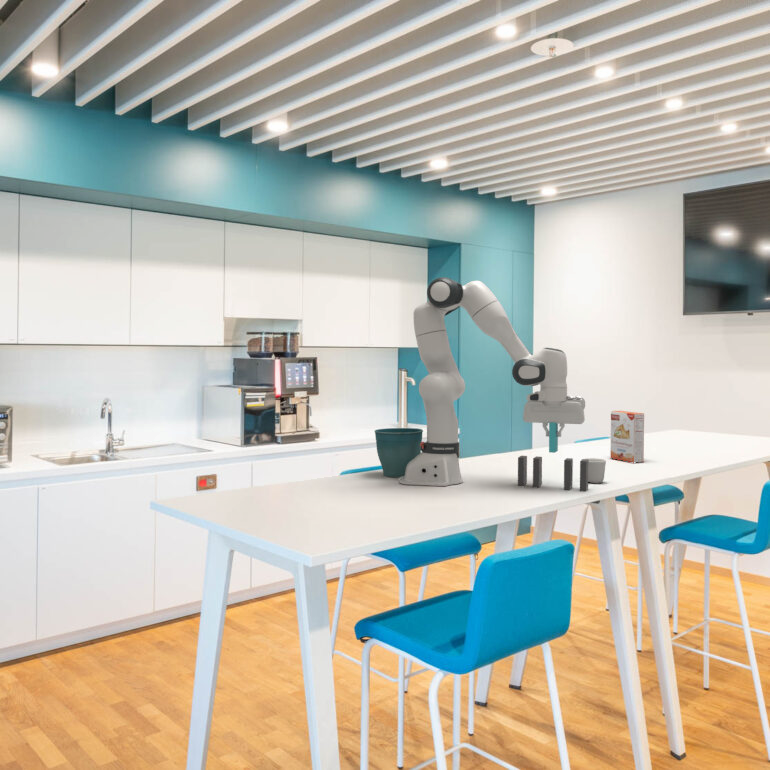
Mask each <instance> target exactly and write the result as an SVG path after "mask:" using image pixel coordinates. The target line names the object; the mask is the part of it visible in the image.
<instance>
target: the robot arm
mask: <svg viewBox="0 0 770 770" xmlns="http://www.w3.org/2000/svg"><path fill="white" fill-rule="evenodd" d="M426 289H427V290H426V296H427V299H428V301H426V302H425V303H421V304H419V305H418V306H417V307H415V308H414V309H413V310H414V311H413V327H414V334H415V335H414V336H415V340H416V344H417V348H418V353H419V357H420V360H421V361H422V363H423V364H424V367H425V368H426V370H427V373H428V374H427V375H426V376H424V377H423V378H422V379H421V380H420V382H419V385H418V392H419V395H420V397H421V398H422V402H423V406H424V411H425V412H424V413H425V417H426V441H422V442H421V443H420V446H421V453H420V454H419V455H417V456H416V457H415V458H414V459H412V460H411V461H410V462H409V463H408V464H407V466H406V470H405V476H401V477H398V482H399V484H402V485H413V486H430V487H431V486H432V487H436V486H437V487H446V486H447V487H448V486H452V485H457V484H462V483H463V478H462V474H461V467H460V459H459V458H460V454H461V453H460V452H461V451H460V449H461V446H460V442H459V419H458V416H457V414H456V410H455V405H454V402H455V401H457V400H458V399H460V398H461V397H462V395H463V394H464V393H465V390H466V382H465V380H464V378H463V377H462V376H461V373H460V370H459V368H458V366H457V363H456V361H455V358H454V356H453V354H452V350H451V346H450V342H449V338H448V332H447V328H446V323H445V316H448V315H449V314H450V313H451V314H452V313H453V312H454V311H456V310H458V309H460V307H461V308H463V309H464V310H465V311H466V312H467V314H468V315H469V317H470V319H471V320H472V321H473V323H474V325H476V326H477V327H478V329H479V330H480V331H481V332H482V333H484V334H485V335H487V336H489V337H490V338H492V339H494V340H496V341H497V342H498V343H499V344H500V345H501V346H502V347H503V349H505V351H506V352H507V355H509V357H510V358H511V359H512V360H513V362H514V364H513V366H512V370H511V371H512V373H511V374H512V377H513V379H514V381H515V382H516V383H518V384H519V385H521V386H525V387H536V386H538V385H540V386H539V387H540V388H539V389H540V390H539V391H535V392H532V393H529V394H527V395H526V401H527V402H526V403H525V404H524V406H523V412H522V413H523V415H522V420H523V421H524V422H525V423H531V424H532V423H533V424H534V423H535V424H542V428H543V430H544V431H545V437H548V438H549V428H548V427H549V423H558V428H559V427H560V428H559V429H558V431H557V432H556V437H558V438H561V437H562V432H563V431H564V428H565V427H566V425H567V424H568V425H571V424H572V425H582V424H583V423H584V422H585V411H584V410H585V409H586V401H585V399H584V398H583V397H581V396H580V395H579V396H573V395H568V384H567V377H568V361H567V355H566V353H565V352H564V350H561V349H559V348H558V349H557V348H553V347H543V348H542V349H541V350H540V351H538V352H535V353H534V354H532V353H531V351H530V350H529V349H528V348H527V347H526V345H525V344H524V342H523V341H522V340H521V339H520V336H518V334H517V333H516V332H515V330H514V327H513V325H512V324H511V321H510V319H509V317H508V315H507V313H506V311H505V309H504V307H503V305H502V304H501V302H500V300H498V298H497V297H496V295H495V294H494V293H493V292H492V291H491V289H489V287H488V286H487V285H486V284H485V283H484V282H482V281H481V280H472V281H469V282H468V283H466V284H464V285H462V284H461V283H459V282H457V281H456V280H454V279H451V278H449V277H445V276H444V277H441V276H440V277H437V278H435V279H432V280H431V282H430V283H429V284H428V287H427V288H426ZM565 424H566V425H565Z"/></svg>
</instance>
